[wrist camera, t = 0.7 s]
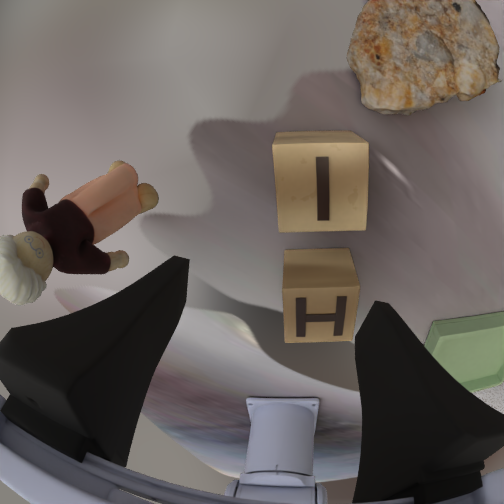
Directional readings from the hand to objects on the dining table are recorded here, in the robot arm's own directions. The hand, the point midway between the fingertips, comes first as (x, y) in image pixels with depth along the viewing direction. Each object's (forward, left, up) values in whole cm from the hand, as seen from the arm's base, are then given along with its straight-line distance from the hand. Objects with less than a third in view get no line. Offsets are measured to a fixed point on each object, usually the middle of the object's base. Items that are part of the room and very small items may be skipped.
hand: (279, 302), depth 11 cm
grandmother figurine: (+3, +11, -10) cm, 15 cm away
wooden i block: (+3, -2, -10) cm, 10 cm away
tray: (-16, -20, -10) cm, 28 cm away
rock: (+11, -9, -10) cm, 17 cm away
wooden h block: (-5, -2, -10) cm, 11 cm away
